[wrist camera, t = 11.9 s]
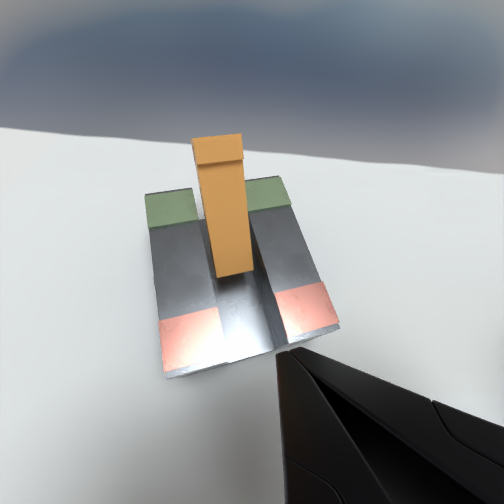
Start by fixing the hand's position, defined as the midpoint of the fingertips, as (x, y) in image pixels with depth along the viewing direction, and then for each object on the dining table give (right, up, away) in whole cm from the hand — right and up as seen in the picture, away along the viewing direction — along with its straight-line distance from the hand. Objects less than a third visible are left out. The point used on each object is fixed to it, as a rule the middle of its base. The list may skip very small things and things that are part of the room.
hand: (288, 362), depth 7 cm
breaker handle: (-2, +2, +9) cm, 10 cm away
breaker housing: (-3, +1, +12) cm, 12 cm away
